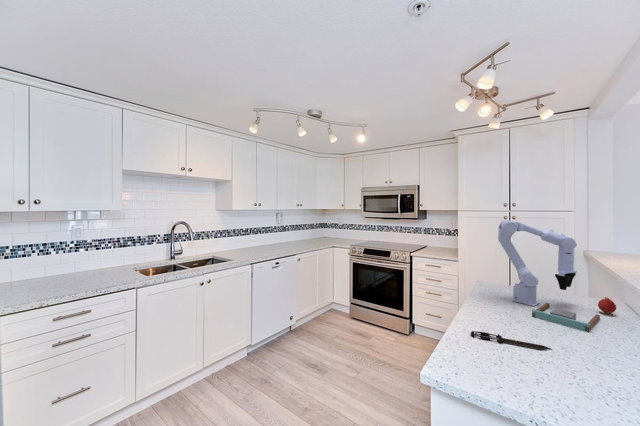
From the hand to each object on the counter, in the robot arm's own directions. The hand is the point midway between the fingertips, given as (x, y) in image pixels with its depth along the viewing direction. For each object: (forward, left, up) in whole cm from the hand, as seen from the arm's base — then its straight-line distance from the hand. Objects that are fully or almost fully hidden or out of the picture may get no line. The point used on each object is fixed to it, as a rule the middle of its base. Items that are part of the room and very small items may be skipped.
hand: (565, 288), depth 135 cm
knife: (-2, -61, -10) cm, 62 cm away
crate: (+4, -22, -10) cm, 24 cm away
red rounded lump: (+14, +4, -10) cm, 17 cm away
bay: (+4, -16, -9) cm, 19 cm away
